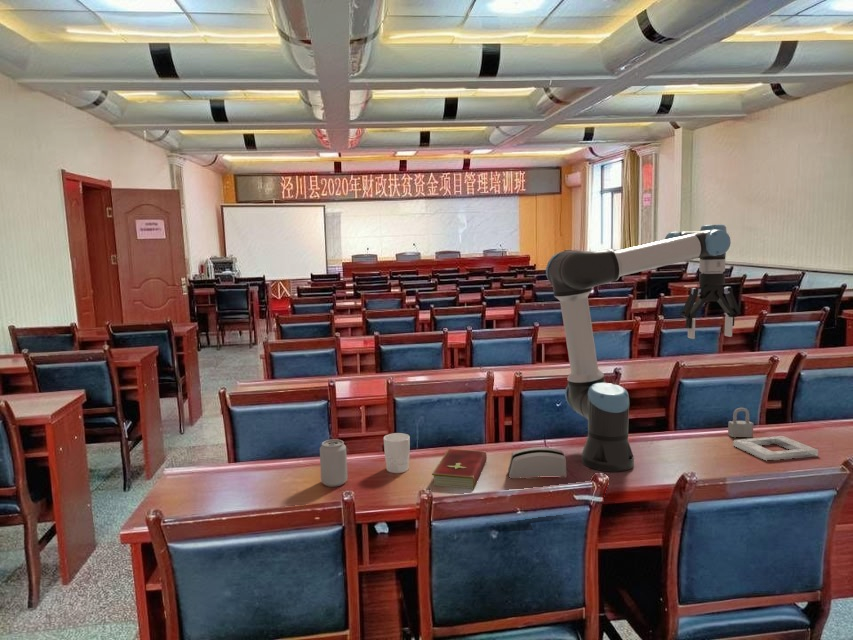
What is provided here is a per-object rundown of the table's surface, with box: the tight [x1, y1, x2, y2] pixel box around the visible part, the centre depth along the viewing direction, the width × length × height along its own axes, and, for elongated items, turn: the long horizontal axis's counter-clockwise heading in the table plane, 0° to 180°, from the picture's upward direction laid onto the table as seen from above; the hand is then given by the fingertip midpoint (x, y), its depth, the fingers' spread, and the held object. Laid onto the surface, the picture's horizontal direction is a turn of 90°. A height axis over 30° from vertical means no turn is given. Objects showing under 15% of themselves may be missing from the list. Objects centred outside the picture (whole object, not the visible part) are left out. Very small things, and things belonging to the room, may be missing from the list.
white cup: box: [383, 432, 411, 474], centre depth 173 cm, size 8×8×10 cm
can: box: [319, 438, 348, 488], centre depth 164 cm, size 8×8×12 cm
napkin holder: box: [507, 446, 568, 479], centre depth 165 cm, size 17×5×10 cm, turn 91°
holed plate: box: [732, 435, 819, 462], centre depth 181 cm, size 18×14×2 cm
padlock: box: [727, 407, 754, 438], centre depth 195 cm, size 7×4×10 cm, turn 89°
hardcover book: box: [431, 448, 488, 490], centre depth 169 cm, size 12×21×4 cm, turn 165°
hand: (709, 337), depth 189 cm, fingers open, 13 cm apart
